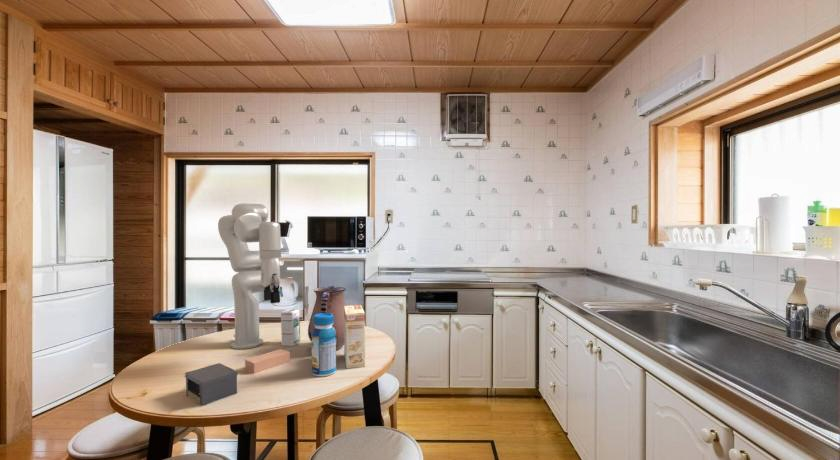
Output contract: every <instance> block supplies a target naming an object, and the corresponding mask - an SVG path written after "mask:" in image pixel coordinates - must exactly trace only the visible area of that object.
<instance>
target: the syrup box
mask: <svg viewBox="0 0 840 460" xmlns="http://www.w3.org/2000/svg"><path fill="white" fill-rule="evenodd" d="M280 329H281V330H280V331H281V345H282V346H287V347H288V346H290V347H292V346H293V347H294V346H296V345H298V344H299V343H300V342H301V318H300V309H298V308H297V309H296V308H288V309H286V310H283V311H281V312H280Z"/></svg>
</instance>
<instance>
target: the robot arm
mask: <svg viewBox="0 0 840 460" xmlns="http://www.w3.org/2000/svg"><path fill="white" fill-rule="evenodd" d="M268 219H269V211H268V208H267V207H266V205H264V204H261V203H244V202H243V203H239V204H235V205H234V206H233V207H232V209H231V214H228V215H227V214H226V215H224V216H221V217H220V218H219V220H218V222H217V230H218V233H219V236H220V239H221V240H222V242H223V244H224V246H225V247H226V250H227V254H228V259H229V262H230V266H231V269H232V271H233V272H235V273H236V274H235V273H234V275H233V276H232V278H231V287H232V292H233V294H232V295H233V300H234V305H233V306H234V335H233V337H234V341H233V342H232V343H231V344H230V347H231V348H232V349H235V350H246V349H247V350H248V349H253V348H257V347H259V346H261V345H263V344H264V339H263V338H261V337H260V304H259V300H258V299H257V298H256V297H255V295H254V294H256V293H263V300H264V301H270V303H271V304H277V303H278V304H279V303H280V302H281V293H280V292H281V289H280V284H281V268H280V260H279V259H282V244H281V243H282V242H281V224H280V223H279V222H277V221H268ZM248 243H249V244H251V243H258V250H250V249H249V246H248V245H249V244H248Z"/></svg>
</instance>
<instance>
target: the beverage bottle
mask: <svg viewBox="0 0 840 460" xmlns="http://www.w3.org/2000/svg"><path fill="white" fill-rule="evenodd" d="M313 322H314V326H315V328H314V330H313V332H312V335H311V336H312V338H313V339H312V341H310V344H311V374H312V375H313V376H316V377H328V376H331V375H334V374H335V373H336V372H337V350H336V338H335V335H336V332H335V329H334V328H333V326H332V324H333V322H334V316H333V314H331V313H320V314H316V315H314V317H313Z"/></svg>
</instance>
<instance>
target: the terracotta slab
mask: <svg viewBox="0 0 840 460" xmlns="http://www.w3.org/2000/svg"><path fill="white" fill-rule="evenodd" d="M290 352H291V351H288V350H285V349H281V348H279V349H277V350H272V351H270V352H267V353H263V354H260V355H256V356H253V357H250V358H247V359H244V370H245V371H246V372H249V373H252V374H258V373H261V372H264V371H267V370H269V369H273V368H275V367H279V366H281V365H284V364H287V363H290V362H291V357H290V355H291V353H290Z"/></svg>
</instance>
